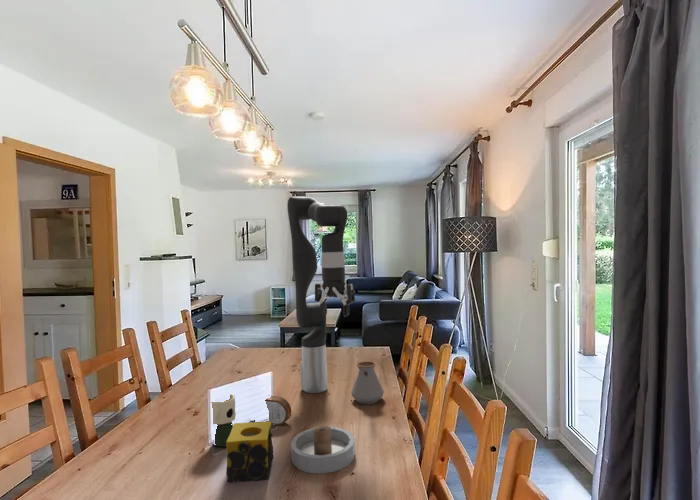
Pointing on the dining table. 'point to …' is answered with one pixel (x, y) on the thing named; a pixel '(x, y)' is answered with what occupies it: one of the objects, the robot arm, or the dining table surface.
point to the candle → (249, 452)
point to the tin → (278, 410)
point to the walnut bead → (322, 440)
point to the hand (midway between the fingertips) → (335, 315)
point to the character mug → (223, 419)
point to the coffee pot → (367, 384)
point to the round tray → (322, 463)
